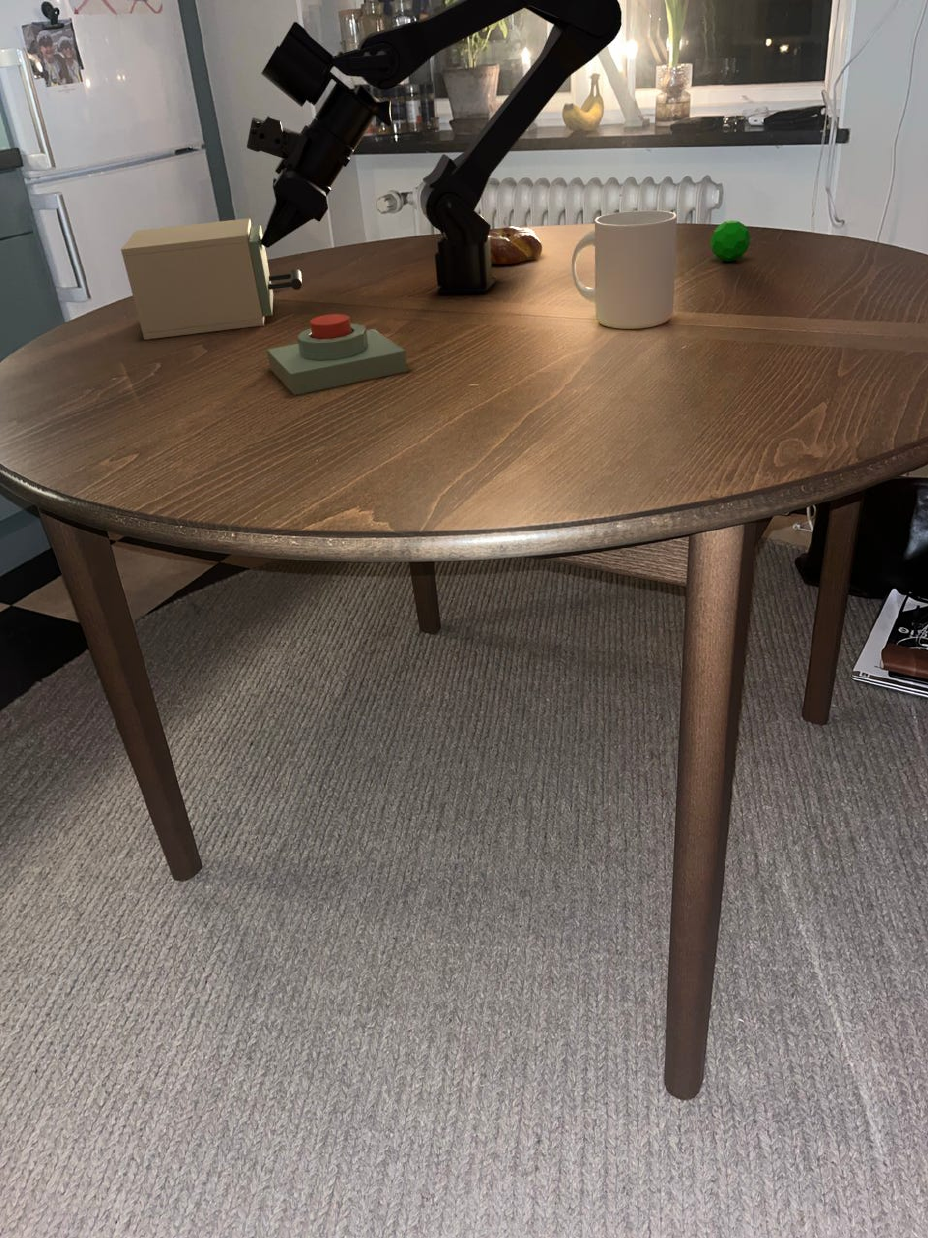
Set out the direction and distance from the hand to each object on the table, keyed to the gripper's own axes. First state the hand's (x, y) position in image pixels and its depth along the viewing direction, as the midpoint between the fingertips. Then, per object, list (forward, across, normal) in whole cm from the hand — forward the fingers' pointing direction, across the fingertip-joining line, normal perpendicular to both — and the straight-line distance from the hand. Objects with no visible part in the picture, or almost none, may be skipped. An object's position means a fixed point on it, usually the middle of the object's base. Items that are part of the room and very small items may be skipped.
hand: (263, 245), depth 118 cm
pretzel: (-17, -16, +30) cm, 38 cm away
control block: (+1, +29, +10) cm, 31 cm away
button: (-1, +29, +8) cm, 30 cm away
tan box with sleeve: (+12, 0, -1) cm, 12 cm away
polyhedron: (-35, +2, +50) cm, 61 cm away
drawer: (+9, 0, +1) cm, 9 cm away
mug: (-20, +23, +34) cm, 46 cm away
